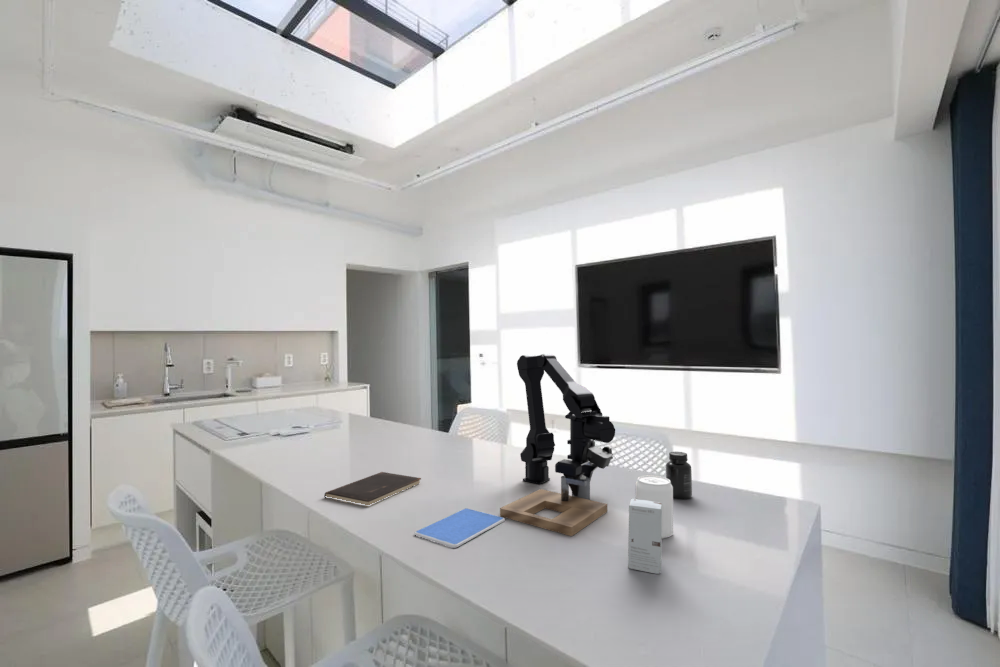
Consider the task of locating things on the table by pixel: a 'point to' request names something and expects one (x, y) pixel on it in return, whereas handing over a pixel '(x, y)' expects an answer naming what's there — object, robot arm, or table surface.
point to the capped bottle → (584, 489)
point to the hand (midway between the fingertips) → (580, 493)
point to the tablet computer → (459, 527)
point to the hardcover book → (373, 488)
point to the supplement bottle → (679, 475)
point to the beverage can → (658, 498)
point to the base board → (568, 522)
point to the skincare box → (645, 536)
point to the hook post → (565, 486)
